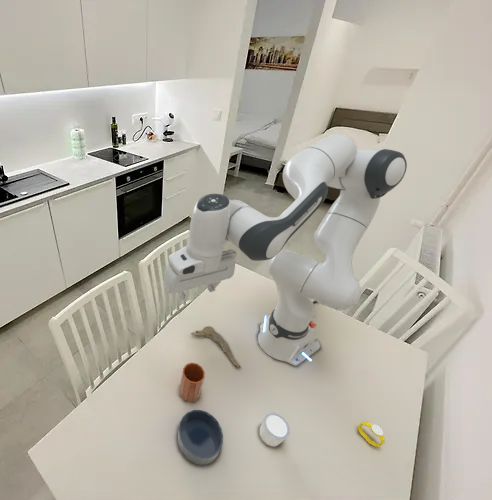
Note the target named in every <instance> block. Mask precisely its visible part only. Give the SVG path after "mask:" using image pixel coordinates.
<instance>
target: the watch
mask: <svg viewBox="0 0 492 500" xmlns="http://www.w3.org/2000/svg"><path fill="white" fill-rule="evenodd" d="M363 426H365V427H368V428H369V429H370V431H371V433H372V434H373V435H374V436H377V437H378V438H379V441H380V442H376V441H374V440H372V439H371V438H370V436H368V434H367V433H366V432H365V431H364V429H363ZM357 430H358V433H359V435H360V436H362V438H363V439H365V441H366V442H367V443H368V444H370V445H371V446H373V447H377V448H380V447H382V446H383V445H384V444H386V443H385V441H386V440H385V439H386V438H385V436H384V430H383V428H381V426H379V425H377V424H373V423H371V422H369V421H368V422H367V421H361V423H359V424H358V426H357Z"/></svg>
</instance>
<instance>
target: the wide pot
mask: <svg viewBox="0 0 492 500" xmlns="http://www.w3.org/2000/svg"><path fill="white" fill-rule="evenodd" d="M222 430H223V429H222V426H221V425H220V423H219V420H217V418H215V417H214V415H212V414H211V413H209V412H208V411H205V410H201V409H192V410H190V411H187V412H186V413H185V414H184V415H183V416H182V417H181V420H180V422H179V425H178V430H177V431H178V432H177V445H178V447H179V450H180V452H181V453H182V455H183V456H184V457H185V458H186V459H187V460H188V461H189V462H191V463H192V464H196V465H198V466H204V465H205V466H206V465H208V464H211V463H213V462H214V461H215V460H216V458H218V456H219V453H220V451H221V449H222V446H223V443H224V434H223V433H224V432H223V431H222Z"/></svg>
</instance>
